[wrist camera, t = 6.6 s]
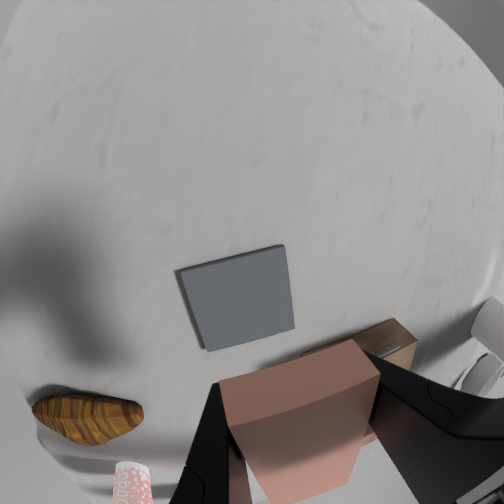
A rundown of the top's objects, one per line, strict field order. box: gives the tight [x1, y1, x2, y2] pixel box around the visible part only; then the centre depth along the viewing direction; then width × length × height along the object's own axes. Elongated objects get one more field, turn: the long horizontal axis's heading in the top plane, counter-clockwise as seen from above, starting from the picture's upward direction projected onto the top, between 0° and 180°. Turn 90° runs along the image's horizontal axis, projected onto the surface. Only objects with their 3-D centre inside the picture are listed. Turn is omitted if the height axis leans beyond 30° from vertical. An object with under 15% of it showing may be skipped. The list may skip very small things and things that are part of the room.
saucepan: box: [460, 354, 504, 397], centre depth 39 cm, size 12×20×6 cm, turn 81°
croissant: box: [32, 393, 144, 446], centre depth 18 cm, size 14×7×5 cm, turn 95°
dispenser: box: [302, 318, 418, 447], centre depth 22 cm, size 10×10×7 cm
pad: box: [180, 245, 295, 352], centre depth 19 cm, size 7×7×1 cm
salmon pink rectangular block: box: [219, 339, 381, 504], centre depth 9 cm, size 4×10×2 cm, turn 10°
